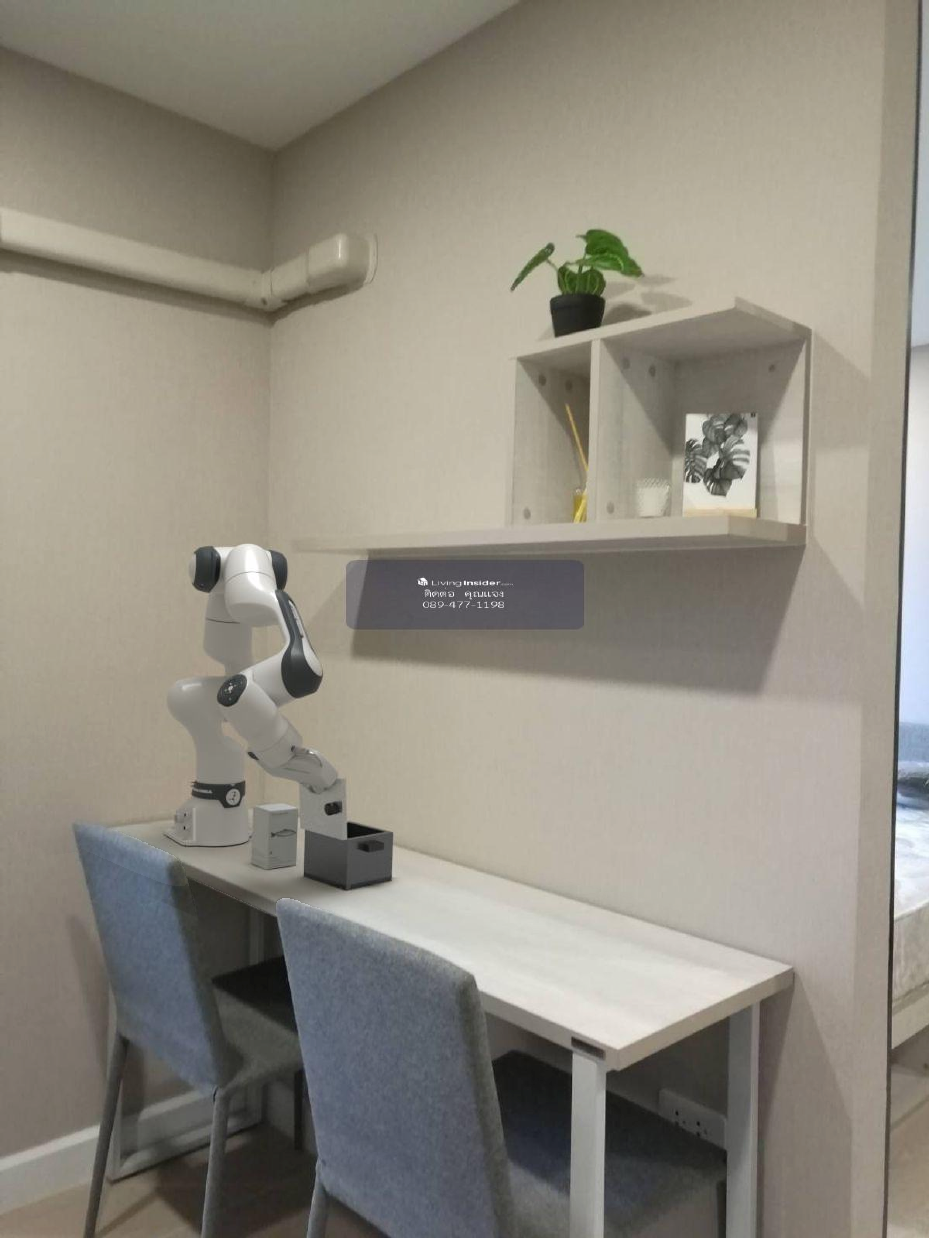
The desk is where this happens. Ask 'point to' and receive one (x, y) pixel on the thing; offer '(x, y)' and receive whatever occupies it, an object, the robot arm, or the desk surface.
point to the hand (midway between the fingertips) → (318, 791)
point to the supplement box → (274, 835)
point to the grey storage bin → (349, 857)
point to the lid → (325, 810)
